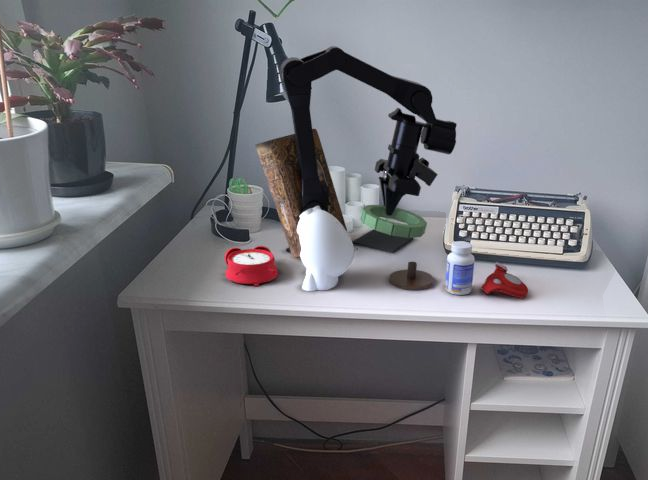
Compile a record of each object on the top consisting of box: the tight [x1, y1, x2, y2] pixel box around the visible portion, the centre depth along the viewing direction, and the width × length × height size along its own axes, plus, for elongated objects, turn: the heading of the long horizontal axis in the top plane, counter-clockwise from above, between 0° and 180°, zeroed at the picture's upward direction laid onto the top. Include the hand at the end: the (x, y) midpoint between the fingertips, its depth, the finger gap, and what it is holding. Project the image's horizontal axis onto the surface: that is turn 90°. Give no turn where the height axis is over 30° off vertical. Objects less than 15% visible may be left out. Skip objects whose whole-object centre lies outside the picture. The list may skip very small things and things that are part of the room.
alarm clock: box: [224, 245, 279, 287], centre depth 129 cm, size 10×6×15 cm
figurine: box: [297, 206, 355, 292], centre depth 125 cm, size 11×11×15 cm
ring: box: [360, 204, 428, 238], centre depth 138 cm, size 14×14×2 cm
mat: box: [352, 229, 415, 254], centre depth 150 cm, size 11×11×1 cm
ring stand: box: [388, 261, 435, 291], centre depth 129 cm, size 9×9×4 cm
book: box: [254, 128, 348, 260], centre depth 140 cm, size 16×6×25 cm, turn 152°
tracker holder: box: [480, 261, 529, 299], centre depth 128 cm, size 12×4×10 cm
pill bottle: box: [444, 240, 476, 296], centre depth 125 cm, size 5×5×10 cm
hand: (387, 214), depth 143 cm, fingers closed on ring, 2 cm apart
